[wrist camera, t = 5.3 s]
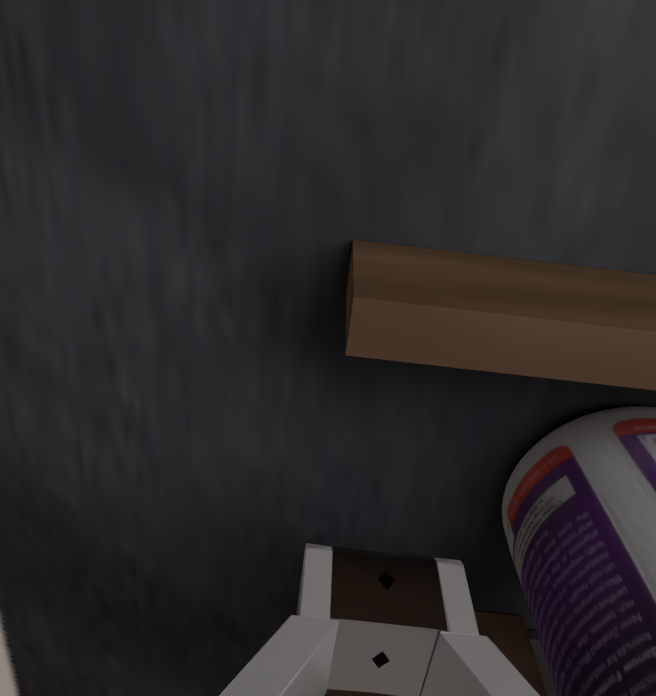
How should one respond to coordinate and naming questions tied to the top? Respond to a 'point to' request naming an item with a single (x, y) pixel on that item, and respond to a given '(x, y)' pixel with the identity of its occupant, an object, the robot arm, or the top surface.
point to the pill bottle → (590, 550)
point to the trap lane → (501, 345)
